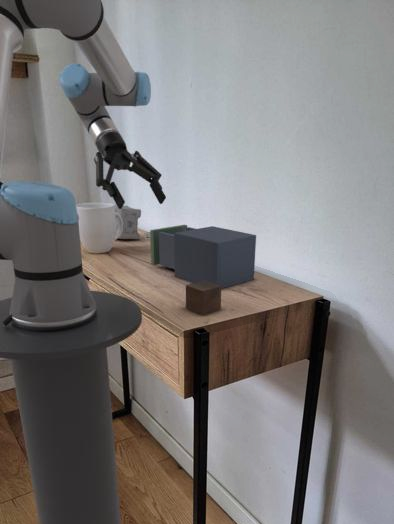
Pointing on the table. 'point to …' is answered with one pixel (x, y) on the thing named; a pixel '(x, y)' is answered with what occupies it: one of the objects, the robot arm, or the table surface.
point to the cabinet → (214, 256)
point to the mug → (98, 226)
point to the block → (203, 297)
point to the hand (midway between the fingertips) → (143, 203)
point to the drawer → (164, 244)
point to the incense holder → (128, 222)
